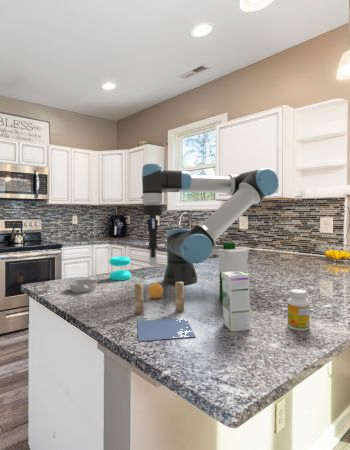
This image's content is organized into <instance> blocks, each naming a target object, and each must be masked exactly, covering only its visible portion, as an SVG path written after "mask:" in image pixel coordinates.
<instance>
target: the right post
mask: <svg viewBox="0 0 350 450" xmlns="http://www.w3.org/2000/svg"><path fill="white" fill-rule="evenodd" d="M174 285H175V286H174V287H175V289H174V290H175V312H176V311H177V312H176V313H184V312H185V284H184V282H175V284H174ZM183 311H184V312H183Z"/></svg>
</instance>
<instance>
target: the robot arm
mask: <svg viewBox="0 0 350 450" xmlns="http://www.w3.org/2000/svg"><path fill="white" fill-rule="evenodd" d="M162 167H163V166H162V165H161V164H159V163H145V164H143V166H142V172H141V179H142V180H141V182H142V183H141V184H142V187H141V188H142V195H141V196H140V198H141V199H142V204H143V205H142V215H144V216H148V219H146V223H147V231H148V247H147V250H148V255H149V256H148V259H149V260H148V261H149V263H148V264H149V265H148V266H149V267H154V266H155V267H157V249H158V246H157V242H158V241H157V240H158V239H157V237H158V235H157V234H158V225H159V220H158V219H157V216H162V215H163V206H162V204H163V193H206V194H207V193H211V194H212V193H213V194H214V193H215V194H217V193H218V194H219V193H220V194H221V193H222V194H226V195H228V196H230V197H229V198H228V199H227V200H226V201H225V202H224V203H223V204H222V205H221V206H219V207H218V208H217V210H215V211H214V212H213V213H212V214H211V215H210V216H209V217H208V218H207V219H206V220H205V221H204V222H202V223H201V224H195V225H194V226H193V227H192V228H191V229H190V228H179V229H171V230H168V231H167V233H166V257H167V258H166V267H165V271H164V274H163V283H166V284H168V285H169V284H170V285H175V282H184V285H191V284H194V283H195V284H196V283H197V282H198V275H197V272H196V268H195V265H194V264H201V263H204V262H205V261H207V260H208V259H209V258H210V256H211V255H212V252H213V251H212V250H213V248H214V247H215V246H216V245H217V243H216V240H217V239H218V238H219V237H221V235H222V234H223V233H225V231H227V229H229V227H230V226H232V225H233V224H234V223H235V222H236V221H237V220H238V218H240V216H242V215H243V214H244V213H246V211H247V210H248V209H249V208H250V207H251V206H252V205H258V204H259V203H261V201H263V199H265V198H266V197H267V196H268V197H269V196H272V195H274V194H276V192H277V191H278V188H279V177H278V175H277V174H276V172H275V171H274V170H273V169H271V168H268V167H265V168H264V167H260V168H259V169H255V170H254V169H253V170H250V171H246V172H242V173H235V174H228V175H226V176H222V175H218V176H217V175H215V176H214V175H194V174H193V175H192V174H191V173H190V171H187V170H186V171H185V170H169V169H168V170H166V169H163V168H162Z"/></svg>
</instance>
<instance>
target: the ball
mask: <svg viewBox="0 0 350 450" xmlns="http://www.w3.org/2000/svg"><path fill="white" fill-rule="evenodd" d="M147 289H148V290H147V293H148V295H149V297H151V298H152V299H160V298H161V297H162V296H163V293H164V287H163V285H162V284H161V283H158V282H154V283H151V285H149V286H148V288H147Z"/></svg>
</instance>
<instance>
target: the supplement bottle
mask: <svg viewBox="0 0 350 450" xmlns="http://www.w3.org/2000/svg"><path fill="white" fill-rule="evenodd" d="M289 295H290V297H288V299H287V327H288V329H291V330H295V331H299V332H302V331H303V332H304V331H308V330H309V329H310V316H311V315H310V312H311V311H310V307H311V306H310V304H311V303H310V301H309V299H307V295H308V292H307V290H304V289H302V288H301V289H300V288H293V289H290V293H289Z"/></svg>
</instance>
